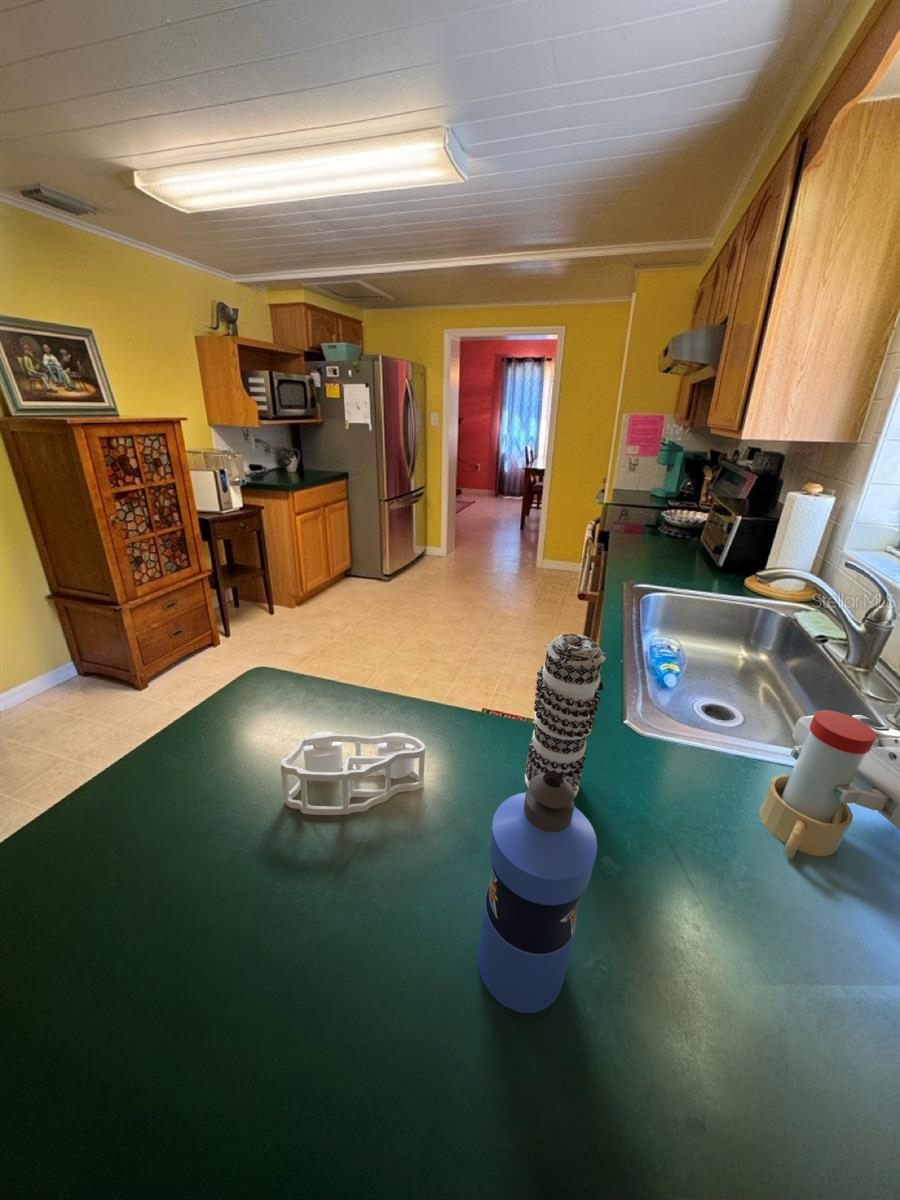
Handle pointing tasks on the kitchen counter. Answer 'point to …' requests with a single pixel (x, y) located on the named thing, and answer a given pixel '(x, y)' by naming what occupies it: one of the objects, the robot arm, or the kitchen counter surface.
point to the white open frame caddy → (352, 769)
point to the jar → (827, 763)
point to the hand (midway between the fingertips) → (816, 772)
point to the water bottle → (534, 893)
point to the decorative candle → (565, 708)
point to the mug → (801, 824)
